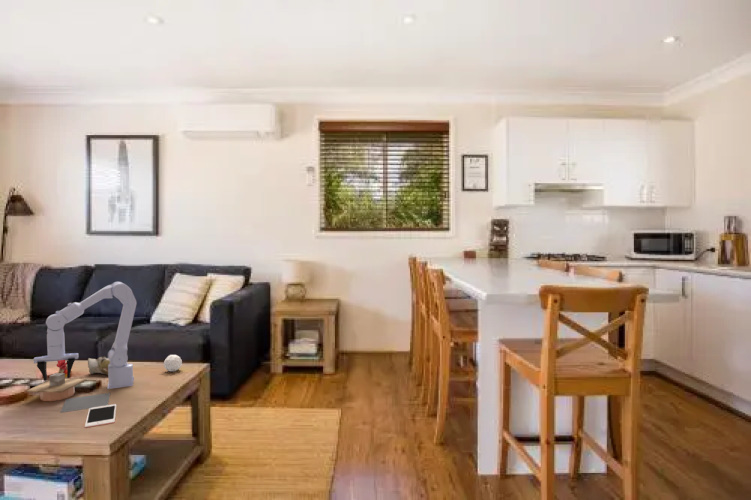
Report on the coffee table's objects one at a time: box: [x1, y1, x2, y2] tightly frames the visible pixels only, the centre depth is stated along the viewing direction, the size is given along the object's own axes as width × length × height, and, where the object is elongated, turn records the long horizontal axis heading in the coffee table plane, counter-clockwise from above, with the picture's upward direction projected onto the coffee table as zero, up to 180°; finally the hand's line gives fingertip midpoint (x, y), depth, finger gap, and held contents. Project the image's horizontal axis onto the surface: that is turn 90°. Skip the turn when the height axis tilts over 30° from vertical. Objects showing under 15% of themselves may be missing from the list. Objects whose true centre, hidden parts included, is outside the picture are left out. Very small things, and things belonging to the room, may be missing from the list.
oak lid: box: [26, 372, 87, 393], centre depth 185 cm, size 14×14×4 cm
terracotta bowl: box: [39, 386, 76, 402], centre depth 185 cm, size 11×11×4 cm
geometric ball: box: [163, 354, 183, 372], centre depth 219 cm, size 8×8×8 cm
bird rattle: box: [56, 360, 68, 379], centre depth 201 cm, size 6×11×9 cm
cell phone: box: [84, 403, 117, 429], centre depth 167 cm, size 9×18×1 cm, turn 27°
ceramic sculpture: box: [87, 355, 111, 376], centre depth 215 cm, size 11×9×15 cm
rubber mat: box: [60, 392, 111, 414], centre depth 179 cm, size 15×15×1 cm
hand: (57, 378), depth 185 cm, fingers open, 7 cm apart
